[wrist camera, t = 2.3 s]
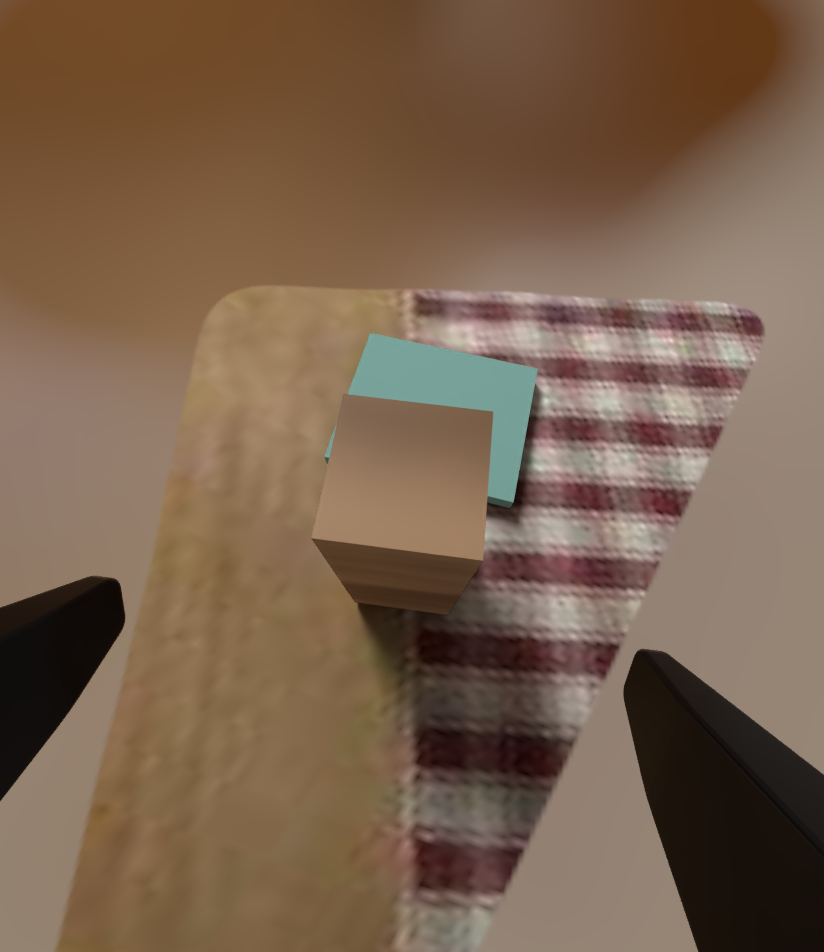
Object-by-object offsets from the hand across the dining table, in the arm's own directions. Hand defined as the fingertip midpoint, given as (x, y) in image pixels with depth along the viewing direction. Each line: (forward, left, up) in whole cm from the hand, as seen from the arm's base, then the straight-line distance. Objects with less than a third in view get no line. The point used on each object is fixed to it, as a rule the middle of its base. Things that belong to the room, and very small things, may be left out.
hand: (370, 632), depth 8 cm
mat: (+11, +1, -12) cm, 17 cm away
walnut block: (+4, 0, -12) cm, 13 cm away
